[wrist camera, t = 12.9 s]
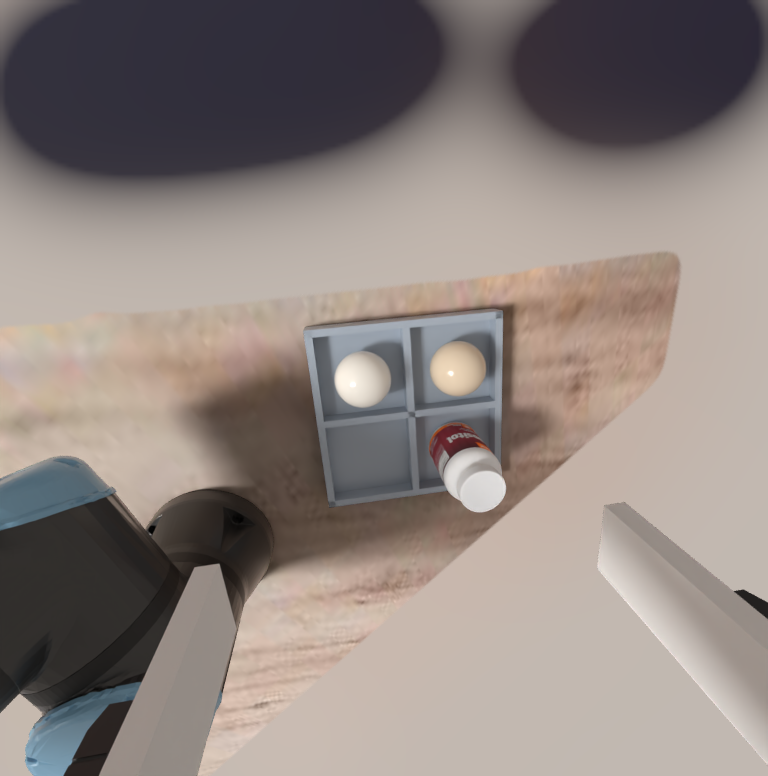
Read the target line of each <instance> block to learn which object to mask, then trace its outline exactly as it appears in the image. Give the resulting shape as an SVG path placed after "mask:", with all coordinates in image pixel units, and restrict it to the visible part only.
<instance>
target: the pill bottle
mask: <svg viewBox="0 0 768 776" xmlns="http://www.w3.org/2000/svg"><path fill="white" fill-rule="evenodd" d="M429 452H430V456H431V458H432V460H433V462H434V464H435V466H436V468H437V470H438V472H439V474H440V476H441V478H442V480H443V482H444V484H445V486H446V488H447V490H448V492H449V493H450V494H451V495H452V496H453V497H454V498H456V499H458V500H460V501H461V502H462V503H463V505H464V506H465V507H466V508H467V509H469V510H471V511H474V512H486V511H489V510H491V509H493V508H495V507H496V506H497V505H498V504H499V503H500V502H501V501H502V500H503V498H504V496H505V493H506V484H505V481H504V479H503V477H502V469H501V465H500V463H499V461H498V459H497V458H496V457H495V455H494V454H493V453H492V452H491V450H490V449H489V448H488V447H487V446H486V444H485V443H484V442H483V441H482V440H481V438H480V437H479V436H478V435H477V434H476V432H475V431H474V430H473V429H472V428H471V427H470V426H468V425H467V424H464V423H462V422H449V423H446V424H443V425H442V426H440V427H439V428H437V429H436V430H435V431H434V433H433V434H432V436H431V438H430V441H429Z"/></svg>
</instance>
